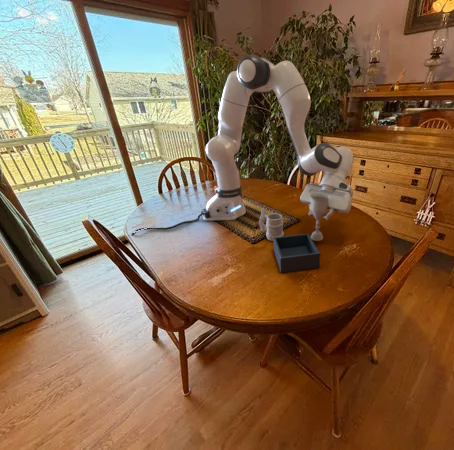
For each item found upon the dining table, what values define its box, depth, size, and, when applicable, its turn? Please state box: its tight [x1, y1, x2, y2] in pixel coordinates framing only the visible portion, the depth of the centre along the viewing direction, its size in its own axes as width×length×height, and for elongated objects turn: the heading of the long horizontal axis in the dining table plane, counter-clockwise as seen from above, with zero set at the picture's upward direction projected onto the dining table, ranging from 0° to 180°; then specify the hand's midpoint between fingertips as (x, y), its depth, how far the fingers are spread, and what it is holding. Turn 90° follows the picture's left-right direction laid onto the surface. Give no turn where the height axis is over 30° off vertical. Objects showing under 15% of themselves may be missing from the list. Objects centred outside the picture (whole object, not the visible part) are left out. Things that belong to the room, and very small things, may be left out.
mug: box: [258, 207, 285, 242], centre depth 99 cm, size 8×12×12 cm, turn 54°
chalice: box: [310, 193, 330, 242], centre depth 92 cm, size 7×7×18 cm
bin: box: [272, 233, 321, 273], centre depth 86 cm, size 14×14×6 cm
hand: (317, 217), depth 92 cm, fingers closed on chalice, 5 cm apart
